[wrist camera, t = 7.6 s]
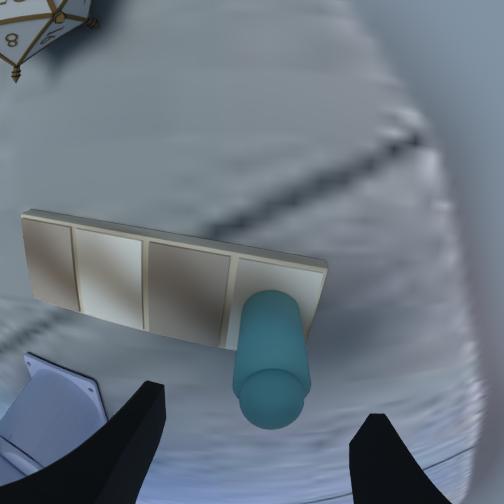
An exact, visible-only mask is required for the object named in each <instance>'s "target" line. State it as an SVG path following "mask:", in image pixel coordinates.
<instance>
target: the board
mask: <svg viewBox="0 0 504 504" xmlns="http://www.w3.org/2000/svg"><path fill="white" fill-rule="evenodd" d="M21 219H22V229H23V238H24V246H25V253H26V259H27V266H28V271H29V277H30V282H31V287H32V292H33V297H34V298H37V299H40V300H43V301H46V302H48V303H51V304H54V305H57V306H60V307H63V308H66V309H69V310H73V311H76V312H79V313H82V314H85V315H89V316H92V317H95V318H99V319H102V320H106V321H109V322H113V323H116V324H120V325H124V326H127V327H131V328H135V329H139V330H143V331H147V332H151V333H155V334H159V335H163V336H167V337H171V338H176V339H180V340H185V341H189V342H194V343H199V344H204V345H208V346H213V347H219V348H224V349H229V350H235V351H237V344H238V336H239V328H240V320H241V312H242V308H243V305H244V304H245V302H246V301H247V300H248V299H249V298H250V297H251V296H253V295H254V294H256V293H259V292H262V291H267V290H276V291H281V292H284V293H286V294H288V295H289V296H291V297H292V298H293V299H294V300H295V301H296V302H297V304H298V306H299V309H300V315H301V321H302V327H303V333H304V340H305V343H306V340H307V337H308V333H309V330H310V327H311V324H312V321H313V318H314V315H315V311H316V308H317V305H318V302H319V298H320V295H321V292H322V288H323V285H324V281H325V278H326V274H327V271H328V267H327V264H326V261H325V260H321V259H316V258H310V257H304V256H299V255H293V254H287V253H282V252H276V251H270V250H265V249H259V248H254V247H248V246H242V245H236V244H231V243H225V242H219V241H214V240H208V239H202V238H196V237H191V236H185V235H179V234H173V233H168V232H162V231H156V230H150V229H144V228H139V227H133V226H127V225H121V224H115V223H109V222H104V221H98V220H92V219H86V218H80V217H74V216H68V215H62V214H56V213H50V212H44V211H39V210H33V209H30V210H28V211H26V212H24V213H22V214H21Z"/></svg>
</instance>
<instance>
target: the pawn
mask: <svg viewBox="0 0 504 504" xmlns="http://www.w3.org/2000/svg"><path fill="white" fill-rule="evenodd" d="M310 387H311V381H310V374H309V367H308V360H307V353H306V346H305V340H304V333H303V327H302V321H301V315H300V309H299V306H298V304H297V302H296V301H295V300H294V299H293V298H292V297H291V296H289V295H288V294H286V293H284V292H281V291H276V290H267V291H262V292H259V293H256V294H254V295H253V296H251V297H250V298H249V299H248V300H247V301H246V302H245V304H244V305H243V308H242V312H241V320H240V328H239V336H238V344H237V352H236V360H235V368H234V377H233V391H234V393H235V395H236V396H237V398H238V399H239V403H240V408H241V410H242V413H243V414H244V416H245V417H246V418H247V420H248V421H249V422H251V423H252V424H254V425H255V426H257V427H260V428H263V429H269V430H273V429H280V428H283V427H285V426H288V425H289V424H291V423H292V422H293V421H295V420H296V418H297V417H298V416H299V415H300V413H301V411H302V408H303V405H304V398H305V397H306V396H307V394H308V393H309V391H310Z"/></svg>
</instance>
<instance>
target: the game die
mask: <svg viewBox="0 0 504 504" xmlns="http://www.w3.org/2000/svg"><path fill="white" fill-rule="evenodd" d="M91 4H92V0H0V58H1V59H3V60H4V61H6V62H8V63H9V64H11V65H12V66H14V69H13V72H12V76H11V77H12V78H13V80H14V81H15V83H16V82H17V81H18V79H19V77H20V76H21V75H20V72H21V70H20V65H21V64H23V63H24V62H25V61H27V60H28V59H29V58H31V57H32V56H34V55H35V54H36V53H38V52H39V51H41V50H42V49H44V48H45V47H46V46H48V45H49V44H51V43H52V42H54V41H56V40H57V39H59V38H60V37H62V36H63V35H65V34H67V33H68V32H70V31H72V30H73V29H75V28H77V27H79V26H80V25H82V24H84V23H86V24H87V26H90V28H93V27H99V25H98V22H97V20H95V19H94V18H93V19H92V18H89V14H90V9H91Z"/></svg>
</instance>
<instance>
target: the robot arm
mask: <svg viewBox="0 0 504 504" xmlns="http://www.w3.org/2000/svg"><path fill="white" fill-rule="evenodd" d="M24 359H25V362H26V365H27V367H28V370H29V372H30V375H31V377H32V379H31V380H30V381H29V382H28V384H27V385H26V386H25V388H24V389H23V390H22V392H21V393H20V394H19V396H18V397H17V398H16V400H15V401H14V402H13V404H12V405H11V407H10V408H9V409H8V411H7V412H6V414H5V415H4V416H3V418H2V419H1V421H0V504H135V503H136V500H137V497H138V494H139V491H140V488H141V486H142V483H143V481H144V479H145V476H146V474H147V471H148V469H149V467H150V464H151V462H152V460H153V457H154V455H155V452H156V450H157V447H158V445H159V442H160V439H161V436H162V432H163V428H164V425H165V421H166V407H165V390H164V385H163V384H159V383H155V382H151V381H148V380H147V381H145V382H144V383H143V384H142V385H141V387H140V388H139V389H138V390H137V391H136V393H135V394H134V395H133V396H132V397H131V398H130V399H129V400H128V401H127V403H126V404H125V405H124V406H123V407H122V408H121V409H120V410H119V411H118V412H117V413H116V414H115V415H114V416H113V417H112V418H111V419H110V420H109V421H108V422H107V419H106V416H105V412H104V409H103V406H102V402H101V399H100V395H99V392H98V388H97V385H96V383H95V382H94V381H93V380H91V379H88V378H86V377H83V376H80V375H78V374H75V373H72V372H70V371H67V370H65V369H62V368H60V367H58V366H55V365H53V364H50V363H48V362H46V361H44V360H41V359H39V358H37V357H35V356H33V355H30V354H28V353H26V354H25V355H24ZM349 468H350V477H351V485H352V493H353V501H354V504H452V503H451V502H450V501H449V500H448V499H447V498H446V497H445V496H444V495H443V494H442V493H441V492H440V491H439V490H438V489H437V488H436V487H435V485H434V484H433V483H432V482H431V481H430V479H429V478H428V477H427V475H426V474H425V473H424V472H423V470H422V469H421V468H420V466H419V465H418V463H417V462H416V461H415V459H414V458H413V456H412V455H411V453H410V452H409V450H408V449H407V447H406V446H405V444H404V443H403V441H402V440H401V438H400V437H399V435H398V433H397V432H396V430H395V429H394V427H393V426H392V424H391V422H390V421H389V419H388V418H387V416H386V415H385V414H369V416H368V417H367V419H366V420H365V422H364V423H363V425H362V426H361V428H360V429H359V431H358V432H357V433H356V435H355V436H354V438H353V439H352V440H351V442H350V443H349Z"/></svg>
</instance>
